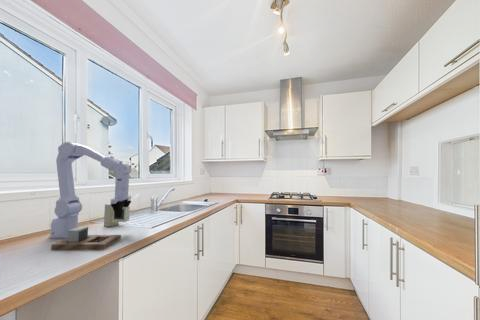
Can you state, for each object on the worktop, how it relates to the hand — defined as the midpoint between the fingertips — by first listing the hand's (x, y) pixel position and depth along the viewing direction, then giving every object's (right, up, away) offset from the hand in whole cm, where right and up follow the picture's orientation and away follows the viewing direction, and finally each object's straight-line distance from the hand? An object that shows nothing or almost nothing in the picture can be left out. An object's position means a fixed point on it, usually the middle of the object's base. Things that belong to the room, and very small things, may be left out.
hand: (120, 216), depth 100 cm
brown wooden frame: (-6, -8, -14) cm, 17 cm away
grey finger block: (-10, -8, -14) cm, 19 cm away
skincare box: (-15, -10, +16) cm, 24 cm away
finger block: (0, -2, 0) cm, 2 cm away
